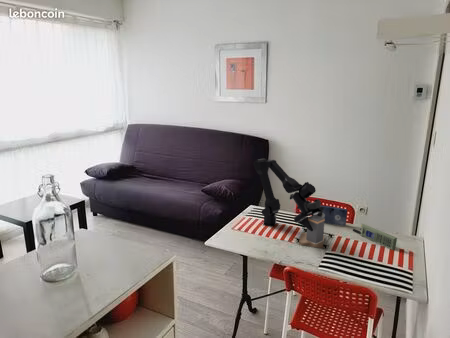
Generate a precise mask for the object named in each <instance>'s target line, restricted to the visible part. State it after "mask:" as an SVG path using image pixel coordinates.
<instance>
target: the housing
mask: <svg viewBox="0 0 450 338" xmlns="http://www.w3.org/2000/svg"><path fill="white" fill-rule="evenodd" d="M307 217H308V221H309V223H310V225H311V227H312V229H313V231H310V230H309V229H307V228H306V233H307V236H306V240H308V241H310V242H313V243H315V244H317V243H319V242H321V241H323V235H324V230H325V223H324V221H325V218H323V217H320V216H318V215H310V216H307Z"/></svg>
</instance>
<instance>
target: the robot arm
mask: <svg viewBox="0 0 450 338" xmlns="http://www.w3.org/2000/svg"><path fill="white" fill-rule="evenodd" d="M253 168H254V170H255V172H256V173H257V174H258V175H259V179H260V181H261V182H260V183H261V185H262V190H263V194H264V197H265V200H264V208H263V209H262V210H261V215H262V216H263V223H262V225H263V226H269V227H275V225H276V224H277V216H276V215H277V214H278V213H279V211H280V210H281V203H280V199H278V198H276V197H275V194H274V191H273V188H272V184H271V183H272V182H271V180H270V177H269V173H268V172H269V169H270V170H271V171H272V173H273V174H274V175H275V176H276V177H277V178H278V180H279V181H280V182H281V183H282V187H283V189H284V191H285V192H286V193H288V194H290V195H289V200H293V201H294V202H295V204H296V206H297V207H296V210H299V211H300V213H299V214H297V215H296V216H294V218H293V221H294V222H295V223H297V224H298V225H299V224H300V226H301V225H302V226H303V227H304V228H306V230H307V229H309V230H310V231H313V229H312V227H311V225H310V223H309V221H308V217H310V216H313V215H318V216H320V217H322V212H323V210H324V209H323V207H322V206H323V205H322V206H320V205H321V204H322V202H321V200H320V199H319V198H316V199H314V201H312V202H311V201H310V200H307V199H308V198H310V197H311V196H313V195H314V194H315V193H316V190H317V189H316V187H315V186H314V185H313V184H311V183H309V182H308V181H305V182H304V183H303V184H301V183H299V182H298V181H297V180H296V179H295V178H293V177H290V176H289V175H288V174H287V172H285V170H284V169H283V168H282V167H281V166H280V164H279V163H278V162H277V160H275V159H266V158H260V159H255V160H254V161H253Z"/></svg>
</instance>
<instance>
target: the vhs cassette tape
mask: <svg viewBox="0 0 450 338" xmlns="http://www.w3.org/2000/svg"><path fill="white" fill-rule="evenodd" d="M320 206H322V207H323V209H324V210H323V212H322V217H323V218H325V221H324V224H330V225H334V226H340V227H346V225H347V216H348V208H341V207H333V206H328V205H320Z"/></svg>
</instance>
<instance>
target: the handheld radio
mask: <svg viewBox="0 0 450 338" xmlns="http://www.w3.org/2000/svg"><path fill="white" fill-rule="evenodd" d="M360 227H361V228H360V229H359V230H358V229H356V228H352V231H353V232H354V233H357V234H360V237H363V238H365V239H368V240H369V241H372V242H374V243H376V244H378V245H380V246H383V247H385V248H388V249H389V250H391V251H394V250H396V247H397V241H398V237H396V236H394V235H393V234H389V233H388V232H384V231H382V230H379V229H377V228H375V227H372V226H370V225H367V224H365V223H361V224H360Z"/></svg>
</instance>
